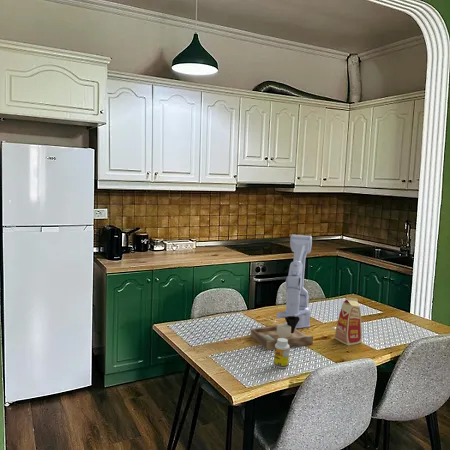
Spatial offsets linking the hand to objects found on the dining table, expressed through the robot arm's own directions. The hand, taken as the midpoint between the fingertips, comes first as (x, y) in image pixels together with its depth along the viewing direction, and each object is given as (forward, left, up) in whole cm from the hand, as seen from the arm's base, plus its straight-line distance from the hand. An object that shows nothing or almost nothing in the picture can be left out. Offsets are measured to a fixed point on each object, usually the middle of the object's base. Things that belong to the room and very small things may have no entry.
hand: (291, 332), depth 193 cm
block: (+4, 0, -1) cm, 4 cm away
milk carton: (-24, +9, -3) cm, 26 cm away
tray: (+5, 0, -3) cm, 6 cm away
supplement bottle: (+18, +23, -3) cm, 29 cm away
